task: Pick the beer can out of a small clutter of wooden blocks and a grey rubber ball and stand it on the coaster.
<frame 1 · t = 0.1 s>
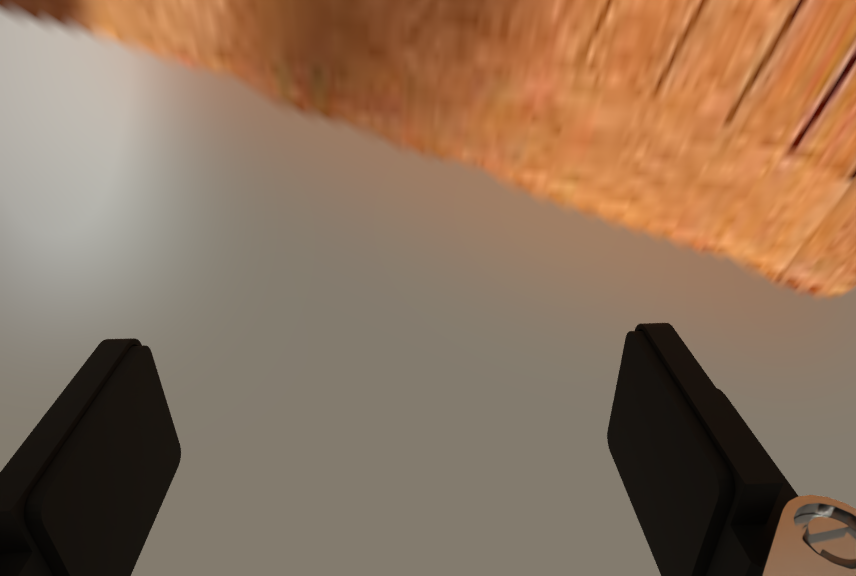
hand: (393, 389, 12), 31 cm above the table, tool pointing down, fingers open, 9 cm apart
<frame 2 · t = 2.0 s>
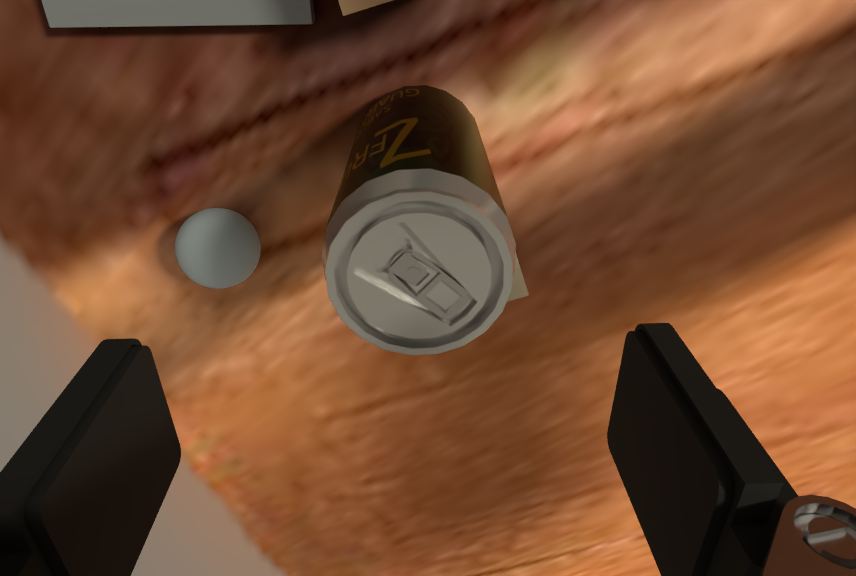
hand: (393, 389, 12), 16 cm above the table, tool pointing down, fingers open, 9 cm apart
grey ball: (218, 248, 26), point 2 cm above the table
beech block: (461, 254, 29), on the table
beer can: (418, 143, 26), on the table
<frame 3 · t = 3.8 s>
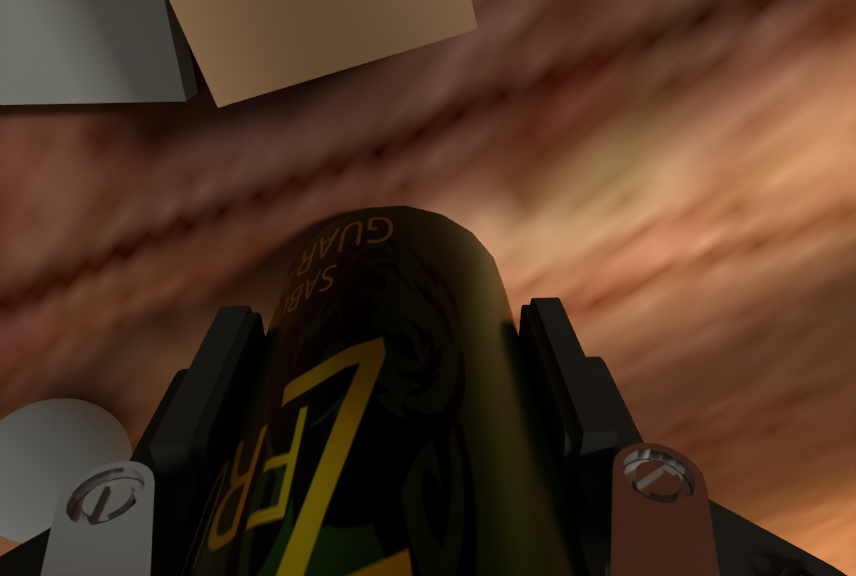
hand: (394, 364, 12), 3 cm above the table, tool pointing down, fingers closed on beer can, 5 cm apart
grey ball: (55, 468, 15), point 2 cm above the table
beer can: (396, 288, 15), on the table, touching gripper
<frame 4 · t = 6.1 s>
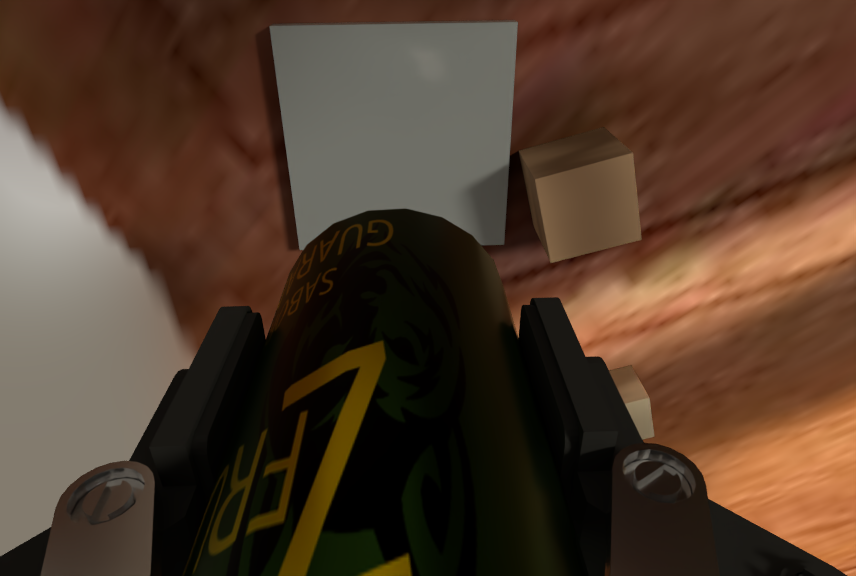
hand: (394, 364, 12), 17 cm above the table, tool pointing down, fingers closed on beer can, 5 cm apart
walnut block: (566, 178, 28), on the table
coaster: (398, 141, 27), on the table
beech block: (591, 392, 35), on the table
beer can: (396, 290, 15), point 13 cm above the table, touching gripper
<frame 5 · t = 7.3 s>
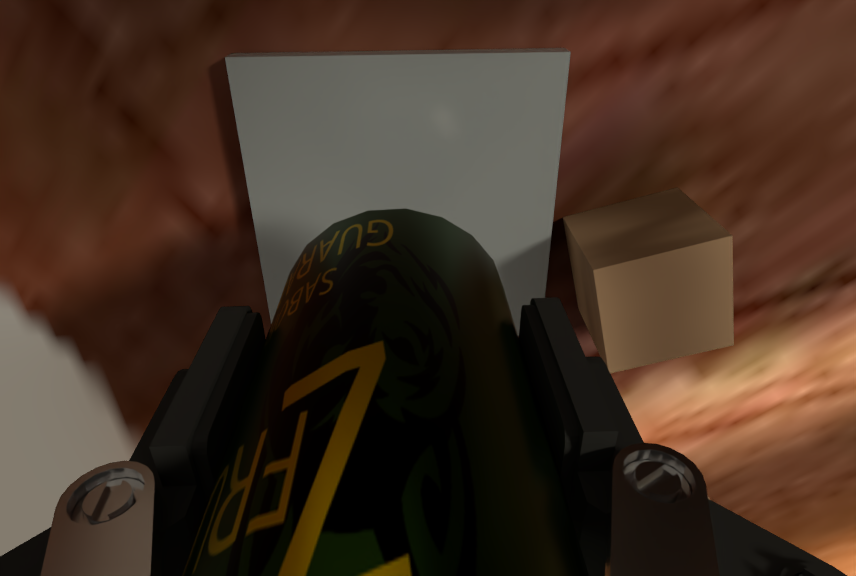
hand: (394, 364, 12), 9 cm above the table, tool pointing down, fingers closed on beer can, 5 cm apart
walnut block: (624, 251, 21), on the table
coaster: (404, 205, 20), on the table
beer can: (396, 290, 15), point 6 cm above the table, touching gripper
when the fingers open (5 cm above the table, at t = 8.5 s): beer can drops 1 cm, resting on coaster.
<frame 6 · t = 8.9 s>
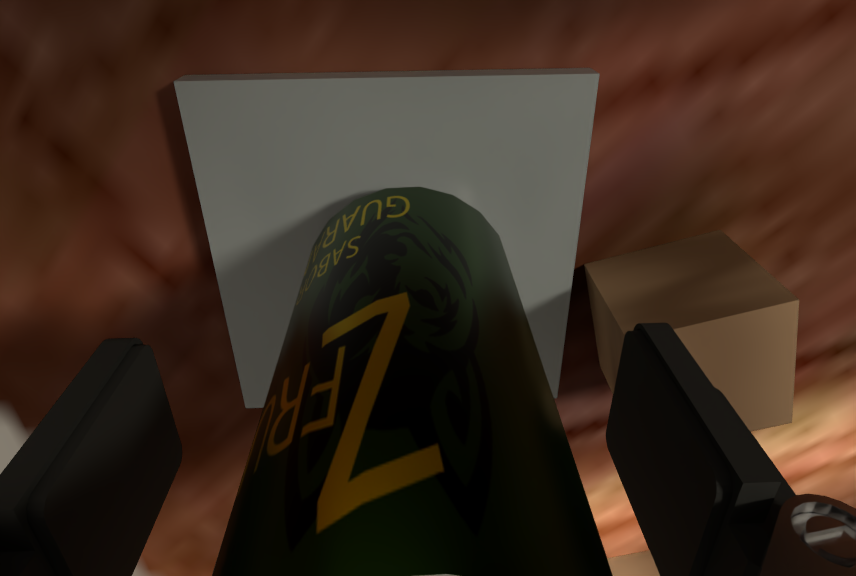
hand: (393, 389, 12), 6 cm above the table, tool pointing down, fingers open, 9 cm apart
walnut block: (655, 301, 18), on the table
coaster: (396, 252, 17), on the table
beech block: (665, 565, 25), on the table
beer can: (408, 264, 16), point 1 cm above the table, touching coaster
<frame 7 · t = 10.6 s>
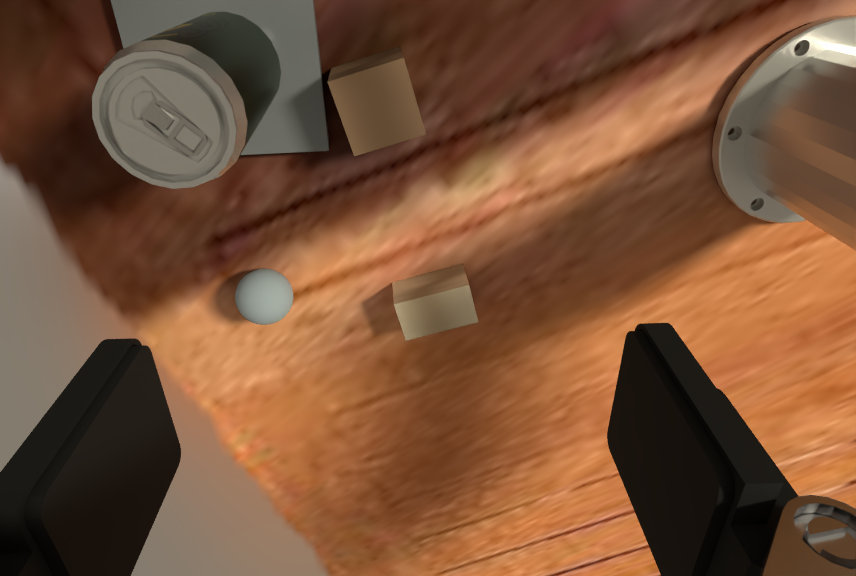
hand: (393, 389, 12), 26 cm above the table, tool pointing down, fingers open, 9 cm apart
walnut block: (376, 92, 34), on the table
grey ball: (264, 296, 37), point 2 cm above the table
coaster: (227, 61, 32), on the table
beech block: (432, 290, 41), on the table
beer can: (232, 64, 31), point 1 cm above the table, touching coaster
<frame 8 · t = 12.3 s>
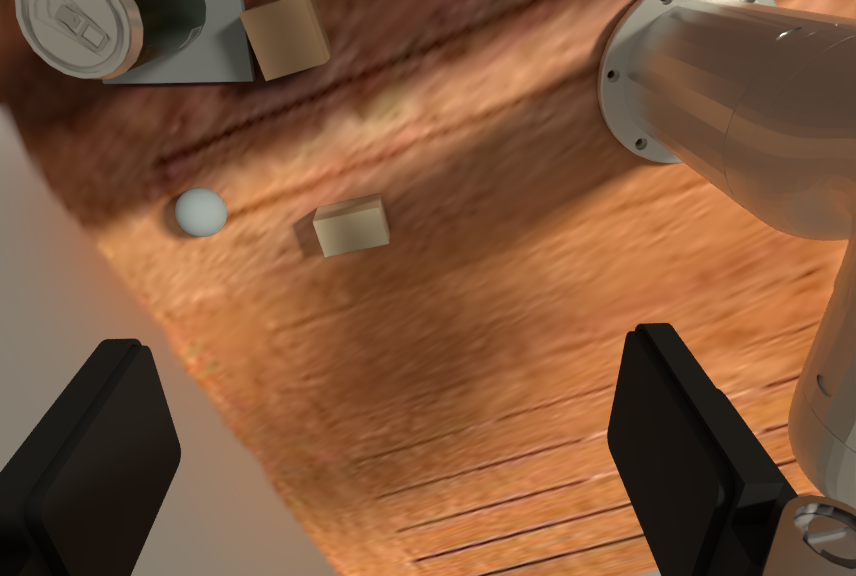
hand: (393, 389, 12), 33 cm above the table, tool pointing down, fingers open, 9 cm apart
walnut block: (294, 30, 39), on the table
grey ball: (201, 212, 43), point 2 cm above the table
beech block: (354, 216, 46), on the table
beer can: (167, 1, 37), point 1 cm above the table, touching coaster
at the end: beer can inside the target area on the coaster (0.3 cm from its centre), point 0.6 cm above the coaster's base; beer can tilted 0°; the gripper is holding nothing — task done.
